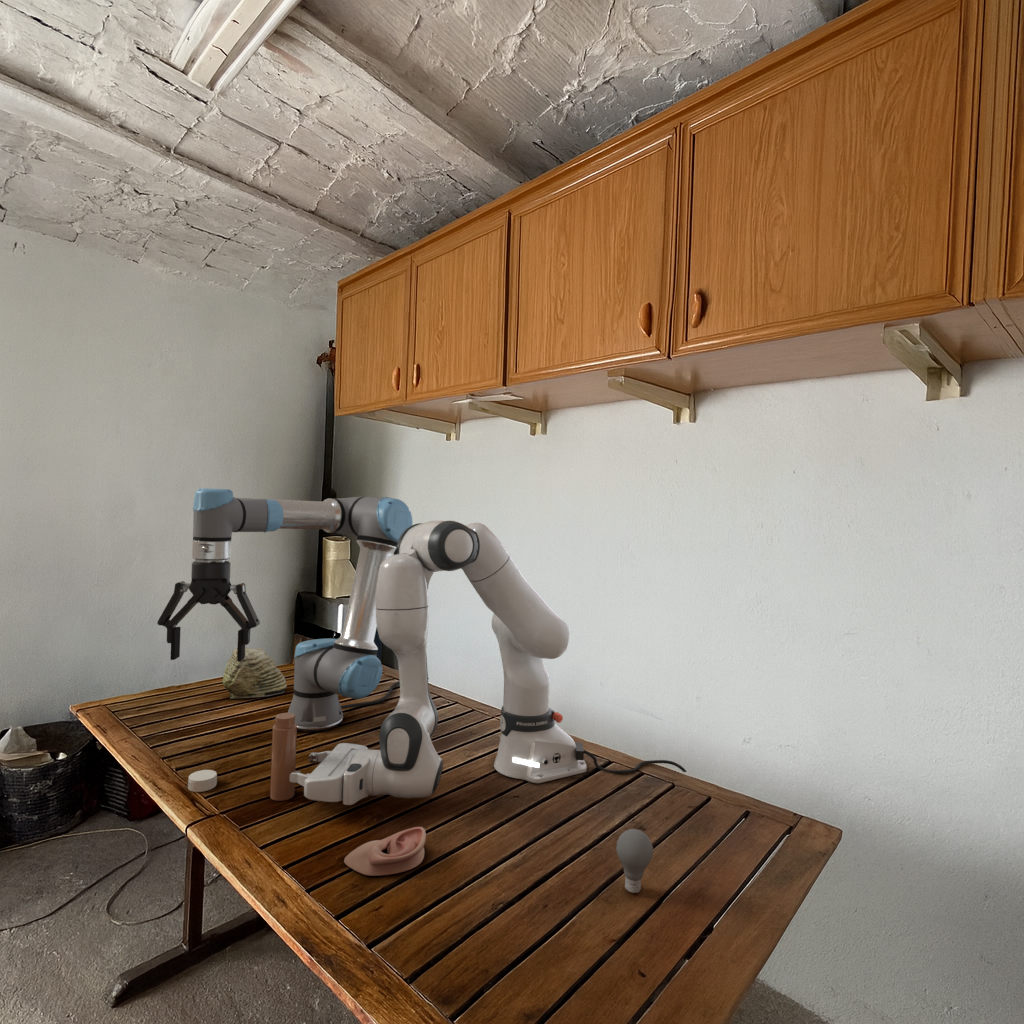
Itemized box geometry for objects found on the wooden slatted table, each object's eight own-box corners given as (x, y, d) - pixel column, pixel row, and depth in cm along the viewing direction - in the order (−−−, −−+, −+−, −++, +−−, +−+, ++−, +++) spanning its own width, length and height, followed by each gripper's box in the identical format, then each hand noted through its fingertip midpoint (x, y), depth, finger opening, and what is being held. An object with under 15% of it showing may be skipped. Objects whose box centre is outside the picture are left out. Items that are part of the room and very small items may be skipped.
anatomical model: (336, 847, 108) (365, 815, 119) (335, 870, 108) (364, 836, 119) (410, 859, 105) (432, 825, 116) (409, 883, 105) (431, 846, 116)
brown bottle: (287, 802, 131) (290, 720, 131) (265, 799, 132) (268, 718, 131) (298, 791, 136) (301, 712, 135) (277, 789, 136) (279, 711, 136)
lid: (208, 792, 133) (209, 781, 133) (182, 791, 133) (182, 780, 133) (221, 781, 139) (221, 770, 139) (196, 779, 139) (196, 769, 139)
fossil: (218, 695, 195) (220, 647, 195) (278, 685, 208) (279, 640, 207) (228, 703, 189) (230, 653, 188) (289, 692, 201) (290, 645, 201)
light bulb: (610, 879, 108) (613, 822, 108) (644, 879, 109) (647, 822, 109) (619, 902, 102) (622, 840, 102) (655, 901, 103) (658, 840, 103)
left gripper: (141, 560, 131) (138, 662, 131) (266, 564, 133) (262, 664, 133) (158, 556, 138) (155, 653, 139) (276, 560, 141) (272, 655, 141)
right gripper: (379, 738, 143) (319, 733, 144) (349, 777, 122) (279, 772, 123) (378, 765, 143) (318, 761, 144) (347, 809, 123) (278, 804, 124)
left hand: (208, 659), depth 136 cm, fingers open, 13 cm apart
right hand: (300, 766), depth 134 cm, fingers open, 8 cm apart
